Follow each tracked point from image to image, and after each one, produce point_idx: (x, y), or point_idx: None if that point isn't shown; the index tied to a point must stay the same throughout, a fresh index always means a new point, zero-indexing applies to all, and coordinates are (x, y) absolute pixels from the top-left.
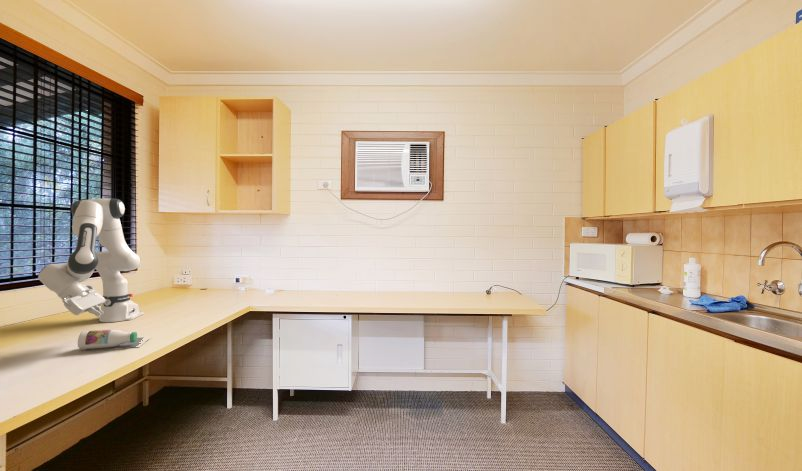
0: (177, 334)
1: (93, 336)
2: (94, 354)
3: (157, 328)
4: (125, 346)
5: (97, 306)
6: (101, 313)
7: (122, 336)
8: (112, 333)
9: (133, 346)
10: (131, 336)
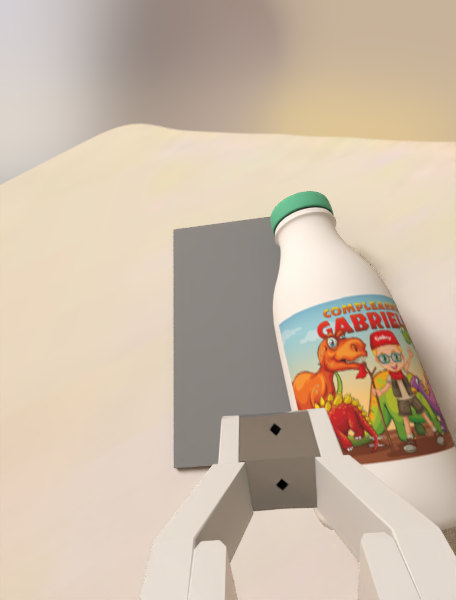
0: (141, 161)
1: (431, 391)
2: (442, 358)
3: (5, 284)
4: None
5: (205, 569)
6: (287, 412)
7: (345, 243)
8: (375, 278)
9: None
10: (330, 207)
